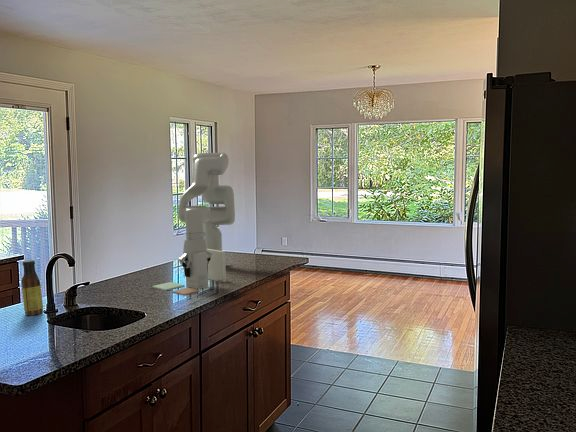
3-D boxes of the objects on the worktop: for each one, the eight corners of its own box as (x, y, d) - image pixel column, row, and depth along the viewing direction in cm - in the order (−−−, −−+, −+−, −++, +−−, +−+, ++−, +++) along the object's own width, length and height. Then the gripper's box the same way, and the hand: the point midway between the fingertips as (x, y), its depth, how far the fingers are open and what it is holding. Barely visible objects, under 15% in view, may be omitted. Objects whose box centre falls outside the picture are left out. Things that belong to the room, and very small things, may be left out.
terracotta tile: (187, 288, 229) (187, 287, 229) (199, 291, 224) (199, 290, 224) (172, 292, 223) (172, 291, 223) (183, 295, 218) (183, 294, 218)
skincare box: (208, 286, 232) (207, 251, 231) (196, 289, 228) (195, 253, 226) (197, 284, 238) (195, 249, 236) (185, 286, 233) (183, 251, 232)
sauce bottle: (47, 311, 198) (43, 259, 196) (35, 316, 192) (31, 262, 190) (31, 310, 199) (28, 259, 197) (20, 315, 193) (15, 262, 191)
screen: (205, 276, 253) (204, 247, 251) (228, 281, 242) (227, 251, 241) (199, 278, 250) (197, 248, 248) (221, 282, 239) (220, 252, 238)
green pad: (171, 283, 241) (170, 281, 241) (184, 286, 234) (184, 285, 234) (152, 287, 233) (152, 286, 233) (165, 290, 227) (165, 289, 226)
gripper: (205, 233, 239) (206, 270, 241) (173, 237, 227) (175, 277, 228) (215, 234, 234) (217, 272, 236) (184, 239, 222) (185, 279, 223)
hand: (196, 274), depth 232 cm, fingers open, 9 cm apart
